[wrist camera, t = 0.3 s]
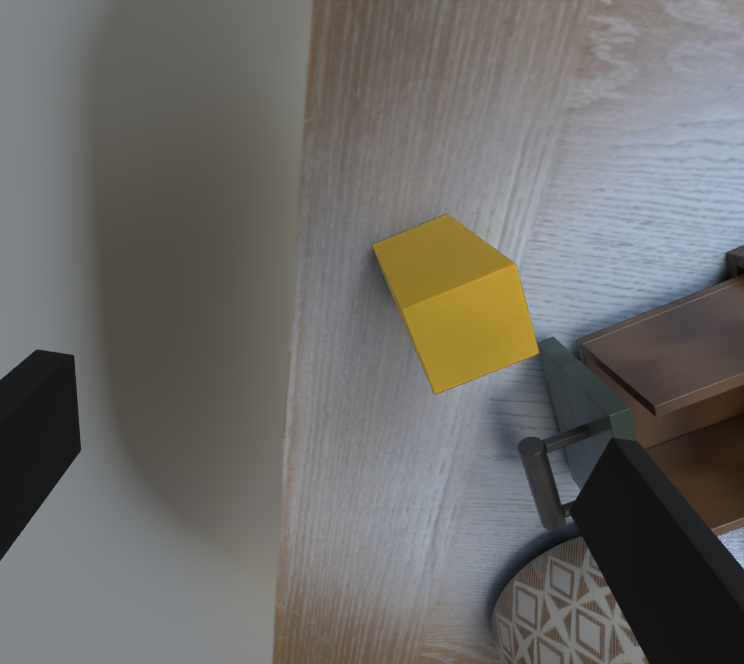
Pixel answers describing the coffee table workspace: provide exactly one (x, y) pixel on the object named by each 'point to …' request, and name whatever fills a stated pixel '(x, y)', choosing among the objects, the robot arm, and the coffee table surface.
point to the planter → (562, 613)
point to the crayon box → (457, 301)
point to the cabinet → (735, 262)
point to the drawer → (653, 403)
